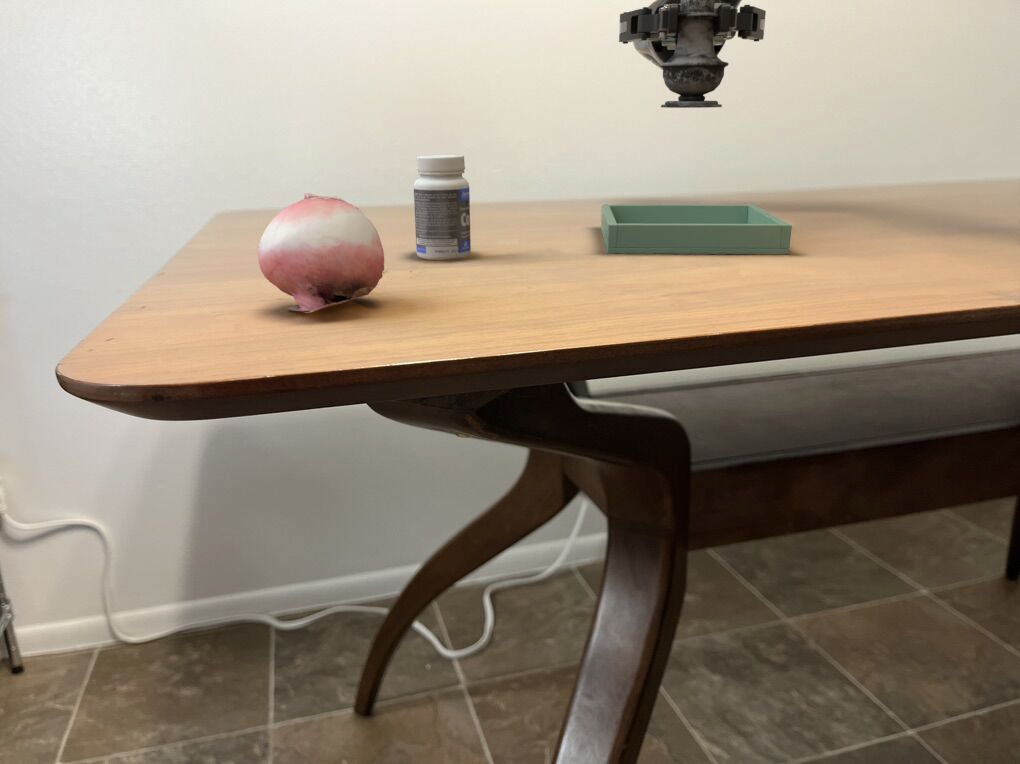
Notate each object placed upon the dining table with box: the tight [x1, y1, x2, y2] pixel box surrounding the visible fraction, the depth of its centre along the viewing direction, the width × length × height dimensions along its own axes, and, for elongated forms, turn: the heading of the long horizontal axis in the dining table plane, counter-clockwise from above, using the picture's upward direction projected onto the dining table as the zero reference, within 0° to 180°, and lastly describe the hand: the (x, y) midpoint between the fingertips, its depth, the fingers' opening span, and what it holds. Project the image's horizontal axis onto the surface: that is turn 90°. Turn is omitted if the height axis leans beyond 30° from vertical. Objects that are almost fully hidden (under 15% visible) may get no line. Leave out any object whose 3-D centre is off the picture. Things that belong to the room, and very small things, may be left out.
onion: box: [257, 192, 385, 314], centre depth 52 cm, size 8×8×7 cm
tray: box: [600, 204, 793, 255], centre depth 77 cm, size 16×15×2 cm
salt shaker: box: [659, 0, 729, 109], centre depth 70 cm, size 6×6×12 cm
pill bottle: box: [413, 154, 472, 261], centre depth 69 cm, size 5×5×8 cm
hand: (699, 18), depth 67 cm, fingers closed on salt shaker, 3 cm apart
